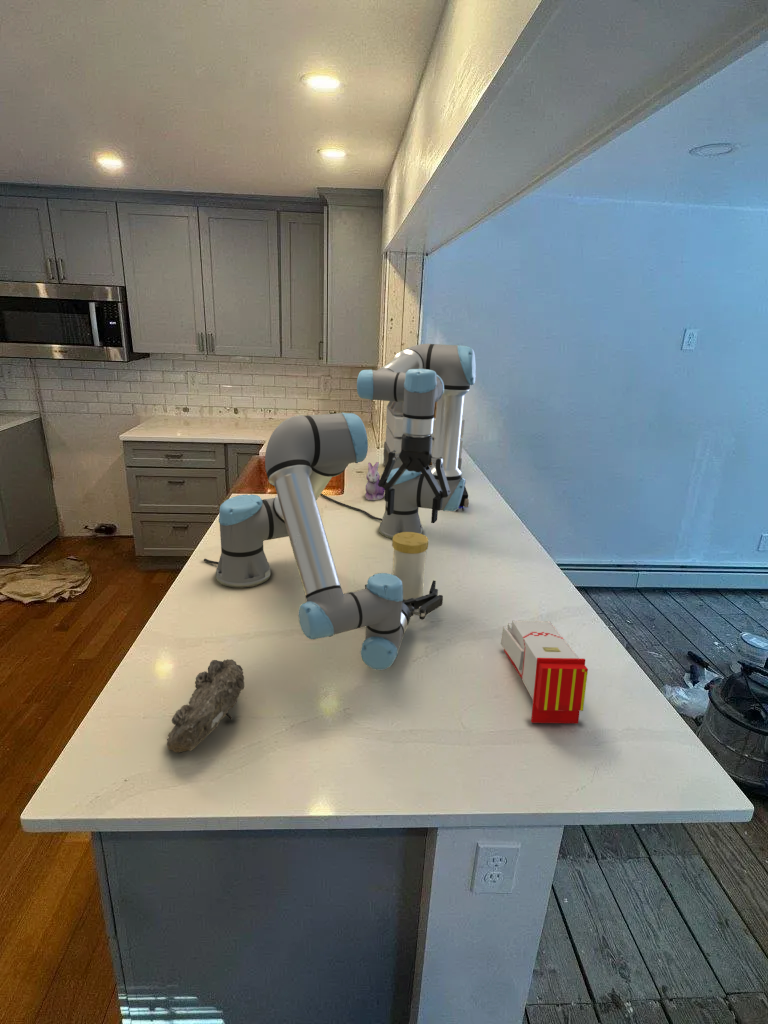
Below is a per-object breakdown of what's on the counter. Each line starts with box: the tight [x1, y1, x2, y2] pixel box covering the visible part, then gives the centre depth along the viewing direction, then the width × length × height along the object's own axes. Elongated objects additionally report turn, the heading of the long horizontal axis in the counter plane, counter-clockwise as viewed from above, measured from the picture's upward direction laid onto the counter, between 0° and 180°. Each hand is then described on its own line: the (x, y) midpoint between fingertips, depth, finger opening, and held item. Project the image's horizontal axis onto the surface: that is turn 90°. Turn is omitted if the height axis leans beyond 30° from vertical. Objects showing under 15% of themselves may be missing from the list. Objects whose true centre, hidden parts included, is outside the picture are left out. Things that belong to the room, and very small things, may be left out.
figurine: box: [364, 461, 385, 501], centre depth 234 cm, size 9×10×15 cm
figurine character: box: [455, 486, 470, 512], centre depth 229 cm, size 7×8×15 cm
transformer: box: [383, 401, 465, 472], centre depth 268 cm, size 34×33×41 cm
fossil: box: [166, 658, 245, 754], centre depth 106 cm, size 22×10×15 cm
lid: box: [391, 532, 429, 554], centre depth 149 cm, size 9×10×2 cm
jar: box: [391, 548, 427, 604], centre depth 152 cm, size 9×9×18 cm
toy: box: [500, 620, 589, 724], centre depth 121 cm, size 12×13×30 cm
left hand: (408, 581), depth 152 cm, fingers open, 13 cm apart
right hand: (411, 517), depth 146 cm, fingers open, 11 cm apart
